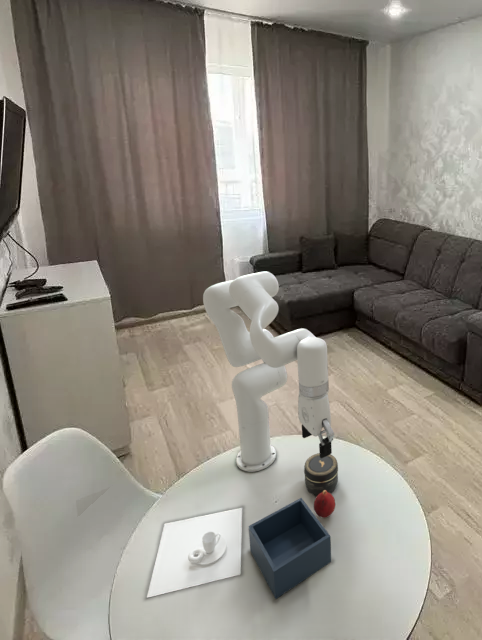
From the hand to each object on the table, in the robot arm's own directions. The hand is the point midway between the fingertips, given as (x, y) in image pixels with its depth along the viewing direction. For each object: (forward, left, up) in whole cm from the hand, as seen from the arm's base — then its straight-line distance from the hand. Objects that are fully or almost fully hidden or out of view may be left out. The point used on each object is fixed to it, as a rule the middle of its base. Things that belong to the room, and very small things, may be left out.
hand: (316, 445), depth 108 cm
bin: (+6, -12, -22) cm, 26 cm away
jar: (-9, +6, -22) cm, 24 cm away
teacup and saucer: (-10, -29, -22) cm, 38 cm away
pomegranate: (+1, +1, -22) cm, 22 cm away
